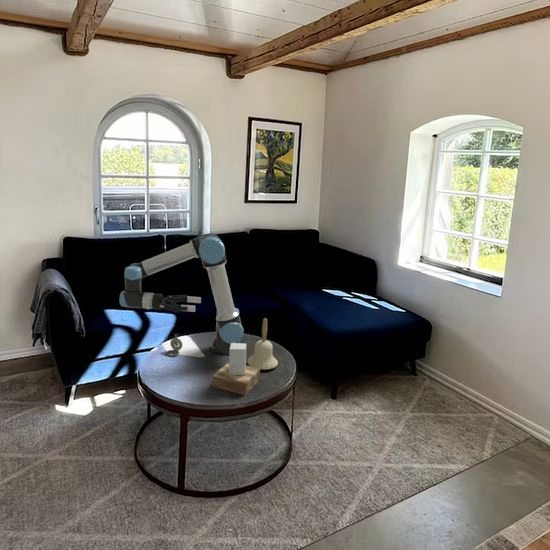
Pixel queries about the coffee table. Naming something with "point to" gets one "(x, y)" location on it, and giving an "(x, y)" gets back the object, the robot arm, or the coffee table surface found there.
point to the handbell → (263, 352)
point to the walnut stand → (236, 380)
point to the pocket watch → (172, 343)
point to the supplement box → (237, 359)
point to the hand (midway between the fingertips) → (198, 304)
